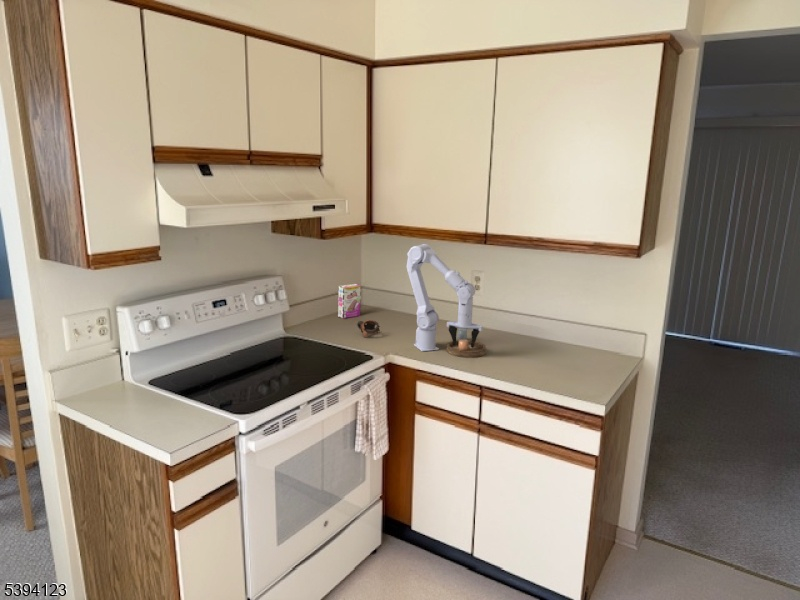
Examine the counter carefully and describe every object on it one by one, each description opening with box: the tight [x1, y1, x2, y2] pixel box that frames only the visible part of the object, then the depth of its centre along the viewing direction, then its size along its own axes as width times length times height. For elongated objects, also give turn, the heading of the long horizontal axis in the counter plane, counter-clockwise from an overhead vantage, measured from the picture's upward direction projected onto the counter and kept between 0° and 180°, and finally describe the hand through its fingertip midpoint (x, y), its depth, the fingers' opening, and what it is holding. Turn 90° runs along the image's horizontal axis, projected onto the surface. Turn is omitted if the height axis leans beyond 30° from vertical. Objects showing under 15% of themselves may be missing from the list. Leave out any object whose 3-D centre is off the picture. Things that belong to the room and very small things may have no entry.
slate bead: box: [457, 328, 468, 340], centre depth 245 cm, size 4×4×5 cm
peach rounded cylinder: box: [458, 339, 469, 351], centre depth 225 cm, size 4×4×5 cm
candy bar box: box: [337, 283, 362, 320], centre depth 279 cm, size 11×5×16 cm, turn 130°
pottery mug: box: [356, 319, 381, 338], centre depth 249 cm, size 12×10×8 cm
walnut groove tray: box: [446, 339, 486, 359], centre depth 229 cm, size 16×16×2 cm
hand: (463, 345), depth 224 cm, fingers open, 7 cm apart
